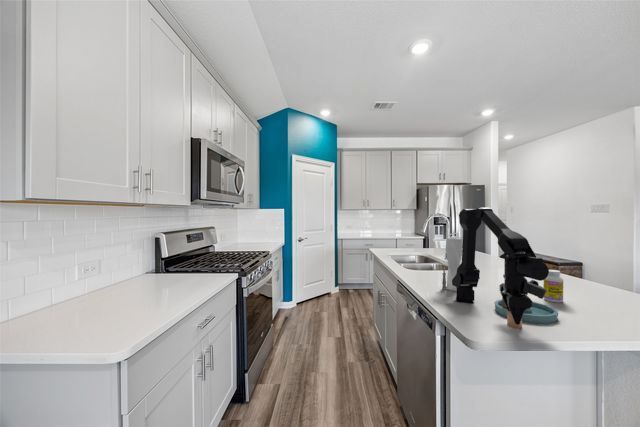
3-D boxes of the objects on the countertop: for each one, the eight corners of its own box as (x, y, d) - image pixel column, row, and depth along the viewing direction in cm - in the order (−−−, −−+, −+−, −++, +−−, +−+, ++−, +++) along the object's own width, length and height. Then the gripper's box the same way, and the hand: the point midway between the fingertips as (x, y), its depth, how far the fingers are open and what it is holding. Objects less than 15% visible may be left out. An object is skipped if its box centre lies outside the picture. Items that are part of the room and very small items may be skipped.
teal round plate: (499, 318, 105) (499, 311, 105) (491, 302, 123) (491, 297, 123) (566, 326, 98) (566, 319, 98) (547, 308, 115) (547, 302, 115)
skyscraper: (448, 286, 151) (448, 232, 150) (465, 289, 145) (465, 233, 144) (441, 289, 145) (441, 233, 144) (458, 293, 139) (458, 234, 138)
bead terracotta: (508, 327, 98) (508, 313, 98) (506, 322, 102) (506, 309, 102) (523, 329, 96) (523, 315, 96) (520, 324, 100) (520, 311, 100)
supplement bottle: (546, 301, 124) (546, 271, 124) (541, 297, 130) (541, 268, 130) (566, 303, 121) (566, 272, 121) (559, 299, 127) (559, 269, 127)
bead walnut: (500, 307, 114) (500, 296, 114) (512, 308, 113) (512, 296, 113) (504, 311, 110) (504, 299, 110) (517, 312, 109) (517, 300, 109)
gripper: (553, 282, 87) (553, 334, 87) (535, 269, 104) (535, 313, 104) (509, 278, 91) (509, 328, 92) (499, 267, 109) (499, 309, 109)
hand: (514, 319), depth 99 cm, fingers open, 9 cm apart
